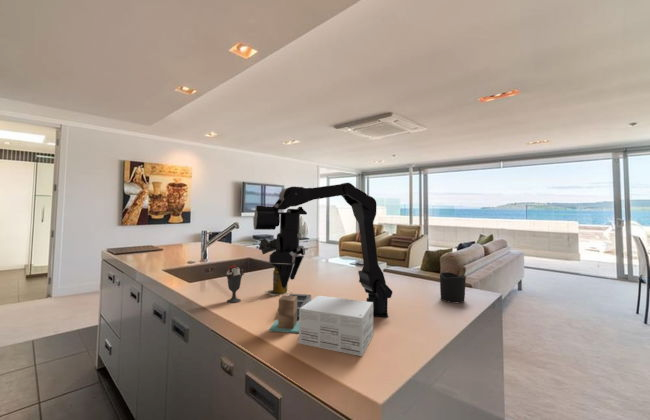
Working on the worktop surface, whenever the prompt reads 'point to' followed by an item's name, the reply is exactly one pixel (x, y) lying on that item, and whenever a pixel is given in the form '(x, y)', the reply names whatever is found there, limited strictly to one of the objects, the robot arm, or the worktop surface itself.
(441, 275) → the pen holder
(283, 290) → the condiment
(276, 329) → the mat
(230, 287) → the sundae
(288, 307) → the peg
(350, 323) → the supplement box
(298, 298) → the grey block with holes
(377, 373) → the worktop surface
